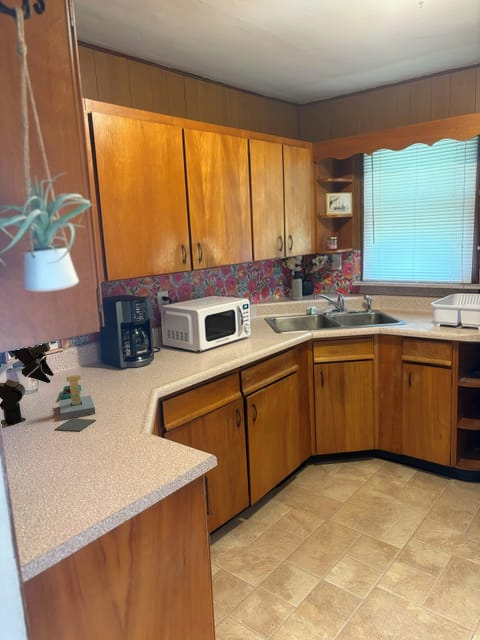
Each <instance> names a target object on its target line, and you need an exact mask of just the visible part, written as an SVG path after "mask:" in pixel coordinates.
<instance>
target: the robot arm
mask: <svg viewBox="0 0 480 640" xmlns="http://www.w3.org/2000/svg"><path fill="white" fill-rule="evenodd" d="M37 345H38V344H37ZM50 350H51V347H50V343H49V342H48V344H42V345H38V346H36V345H34V346H32V347H29V348H24V349H20V350H16V351H11V352H9V353H10V354H12V355H13V357H14V358H13V359H14V360H15V361H17V360H18V361H19V362H20V363H21V364H22V367H23V368H22V369H21V375H22V376H24V377H25V378H26V377H27V378H29V379H30V378H31V379H32V380H37V381H39V382H43V383H46V384H50V383H51V381H52V380H51V379H50V378H49V376H50V377H54V376H55V373H54V372H53V371H52V369H51V367H50V365H49V364H48V363H47V358H48V356H47V353H48V352H49V351H50ZM25 393H26V387H25V386H24V385H23V384H22V383H20V381H15V380H12V379H11V378H10V379H9V378H8V379H7V380H6V381H5V382H0V399H1V401H0V409H1V411H3V418H4V419H2V420H0V423H2V424H5V425H6V424H7V426H12V425H15V424H18V423H20V422H24V421H26V418H25V417H23V416H22V413H21V412H22V411H21V404H20V401H22V399H23V397H24V395H25Z"/></svg>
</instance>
